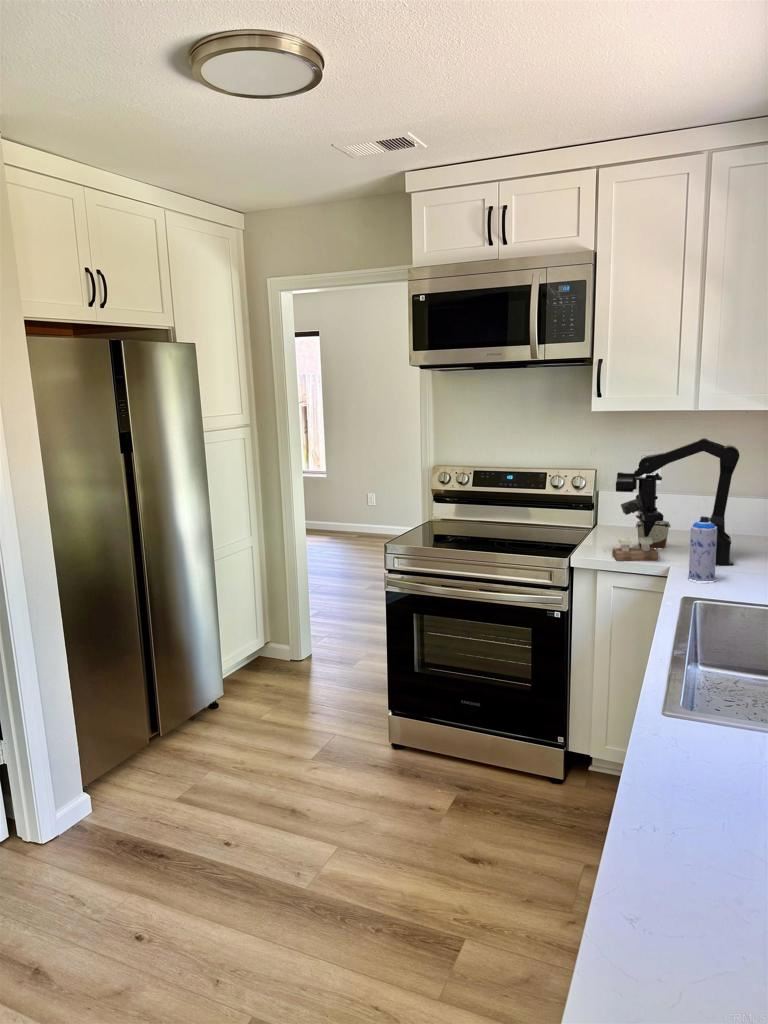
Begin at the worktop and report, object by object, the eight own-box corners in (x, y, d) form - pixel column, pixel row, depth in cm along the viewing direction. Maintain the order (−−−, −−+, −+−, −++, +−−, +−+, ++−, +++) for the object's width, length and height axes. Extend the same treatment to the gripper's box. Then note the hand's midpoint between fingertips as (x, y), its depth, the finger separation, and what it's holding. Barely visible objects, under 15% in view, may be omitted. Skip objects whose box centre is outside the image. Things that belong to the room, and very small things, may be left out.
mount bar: (658, 560, 243) (658, 552, 242) (616, 561, 244) (617, 552, 243) (652, 555, 249) (652, 547, 249) (612, 556, 251) (612, 548, 250)
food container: (664, 544, 265) (665, 519, 263) (669, 548, 259) (670, 522, 257) (631, 545, 266) (632, 519, 264) (635, 549, 260) (636, 522, 258)
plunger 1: (631, 553, 245) (631, 540, 244) (620, 553, 245) (621, 540, 244) (628, 550, 248) (629, 537, 247) (618, 550, 248) (618, 537, 248)
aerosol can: (720, 579, 217) (723, 516, 214) (707, 585, 213) (710, 520, 209) (695, 575, 223) (698, 513, 220) (682, 580, 219) (685, 517, 215)
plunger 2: (652, 552, 244) (652, 539, 243) (641, 553, 244) (641, 539, 243) (649, 550, 248) (649, 537, 247) (638, 550, 248) (639, 537, 247)
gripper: (616, 489, 252) (615, 531, 255) (630, 497, 234) (629, 543, 237) (648, 488, 251) (647, 531, 254) (664, 496, 233) (663, 542, 235)
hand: (645, 536), depth 245 cm, fingers closed
